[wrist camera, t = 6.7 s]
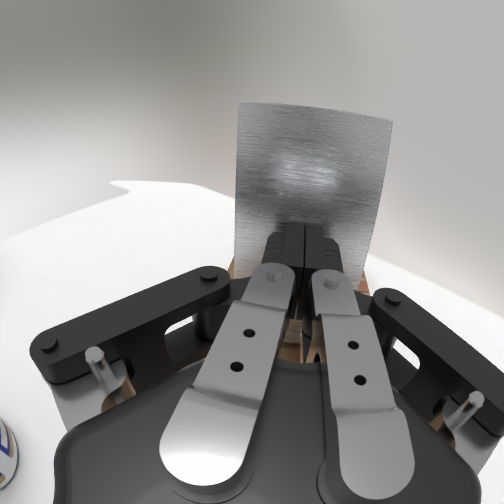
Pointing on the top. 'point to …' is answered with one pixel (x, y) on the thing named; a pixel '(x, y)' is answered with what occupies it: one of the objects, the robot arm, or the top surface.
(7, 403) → the top surface
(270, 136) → the brushed steel sheet
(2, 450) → the pill bottle
